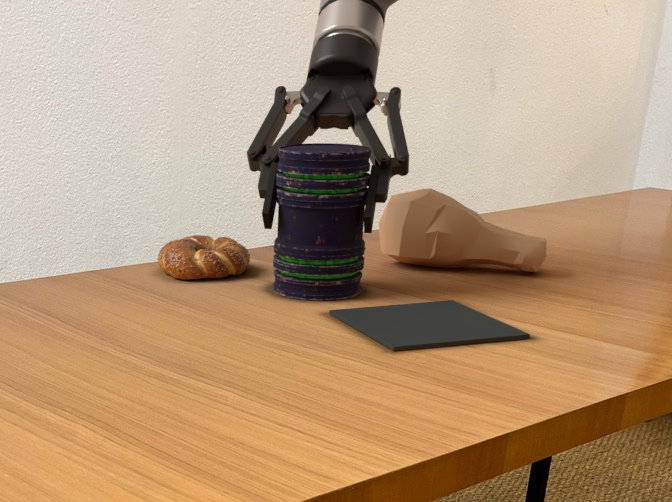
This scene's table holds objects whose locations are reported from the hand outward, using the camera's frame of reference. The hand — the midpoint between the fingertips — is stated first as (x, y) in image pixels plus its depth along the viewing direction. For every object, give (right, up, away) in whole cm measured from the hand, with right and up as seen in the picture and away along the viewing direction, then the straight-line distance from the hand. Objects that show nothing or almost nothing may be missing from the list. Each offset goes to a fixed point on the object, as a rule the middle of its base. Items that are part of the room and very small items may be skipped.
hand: (316, 223), depth 110 cm
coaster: (+9, -12, -8) cm, 17 cm away
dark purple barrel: (+1, -6, +6) cm, 9 cm away
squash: (+19, -1, +16) cm, 25 cm away
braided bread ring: (-11, -2, +15) cm, 19 cm away
